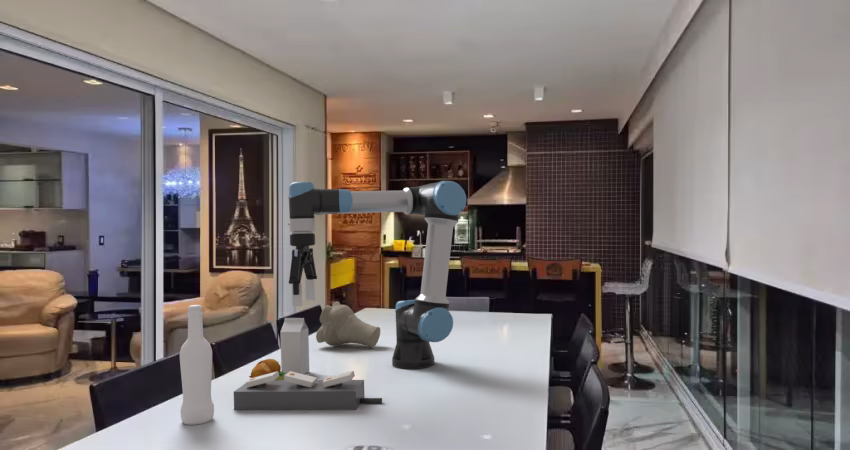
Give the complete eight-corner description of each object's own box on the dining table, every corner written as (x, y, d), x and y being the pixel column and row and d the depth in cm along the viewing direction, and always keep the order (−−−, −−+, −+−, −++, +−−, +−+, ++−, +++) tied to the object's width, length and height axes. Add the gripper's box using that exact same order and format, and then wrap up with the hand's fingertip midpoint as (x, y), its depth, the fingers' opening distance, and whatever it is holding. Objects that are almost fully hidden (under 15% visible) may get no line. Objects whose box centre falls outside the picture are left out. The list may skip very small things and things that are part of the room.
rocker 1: (279, 376, 170) (277, 370, 170) (273, 380, 165) (271, 374, 165) (253, 383, 171) (251, 377, 171) (246, 387, 166) (245, 382, 166)
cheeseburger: (293, 383, 189) (289, 354, 187) (275, 401, 179) (270, 370, 177) (266, 381, 192) (261, 353, 190) (246, 398, 182) (241, 368, 180)
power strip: (385, 397, 171) (384, 376, 171) (378, 409, 159) (377, 388, 159) (250, 397, 175) (250, 377, 175) (234, 409, 163) (233, 388, 163)
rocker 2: (315, 382, 170) (317, 377, 170) (311, 387, 165) (312, 381, 165) (289, 376, 170) (290, 370, 170) (283, 380, 165) (284, 374, 165)
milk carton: (301, 376, 198) (299, 319, 198) (281, 376, 199) (279, 319, 200) (309, 371, 205) (308, 316, 205) (290, 371, 206) (288, 316, 206)
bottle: (186, 416, 158) (183, 303, 158) (217, 414, 159) (215, 302, 159) (176, 426, 150) (173, 307, 150) (209, 424, 151) (206, 306, 151)
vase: (400, 312, 251) (342, 295, 260) (381, 311, 231) (319, 293, 240) (386, 363, 249) (329, 344, 259) (366, 366, 229) (304, 345, 238)
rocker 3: (354, 375, 169) (353, 370, 169) (351, 380, 164) (349, 374, 164) (328, 382, 169) (326, 377, 169) (323, 387, 164) (322, 381, 164)
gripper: (302, 232, 194) (304, 298, 194) (276, 233, 169) (278, 308, 169) (324, 232, 193) (326, 298, 193) (302, 232, 168) (304, 308, 168)
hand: (304, 303), depth 181 cm, fingers open, 12 cm apart
